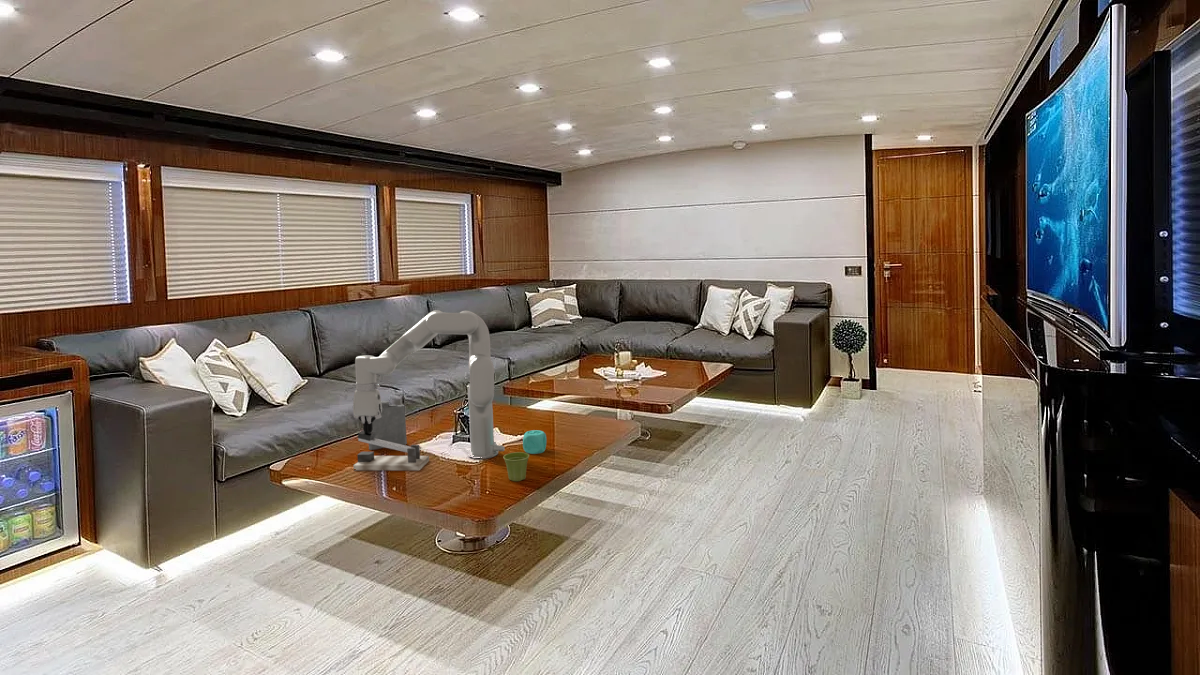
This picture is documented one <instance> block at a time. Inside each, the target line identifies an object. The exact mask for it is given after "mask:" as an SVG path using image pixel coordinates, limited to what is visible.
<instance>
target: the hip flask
mask: <svg viewBox="0 0 1200 675" xmlns="http://www.w3.org/2000/svg"><path fill="white" fill-rule="evenodd" d="M381 404H382V413H381V418H379V419H375V420H374V421H373V422H372V427H373V430H372V432H376V435H375V438H376V439H380V440H384V441H389V442H393V443H397V444H401V445H406V444H408V442H407V441H408V440H407V439H408V438H407V426H406V425H407V422H406V410H405V409H406V407H405V405H404V404H390V400H383V401H382V400H381ZM367 420H368V416H367ZM406 446H407V445H406ZM384 448H385V449H387V448H386V447H382V446H378V445H373V444H369V443H368V450H370V451H372V450H373V451H375V450H379V449H384Z"/></svg>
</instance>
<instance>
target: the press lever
mask: <svg viewBox="0 0 1200 675" xmlns="http://www.w3.org/2000/svg"><path fill="white" fill-rule="evenodd" d="M357 434H358V435H357V439H358V441H357V442H361V443H365V444H368V445H369V444H373V445H378V446H382V447H386V448H385V449H389V450H395V451H400V452H403V453H407V454H408V452H407V449H408V448H414V447H411V445H410V446H409V445H401V444H397V443H393V442H389V441H384V440H380V439H376V438H375V435H376V432H371V433H369V434H367V433H366V434H365V433H364V430H361V431H360V432H358V433H357Z"/></svg>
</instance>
